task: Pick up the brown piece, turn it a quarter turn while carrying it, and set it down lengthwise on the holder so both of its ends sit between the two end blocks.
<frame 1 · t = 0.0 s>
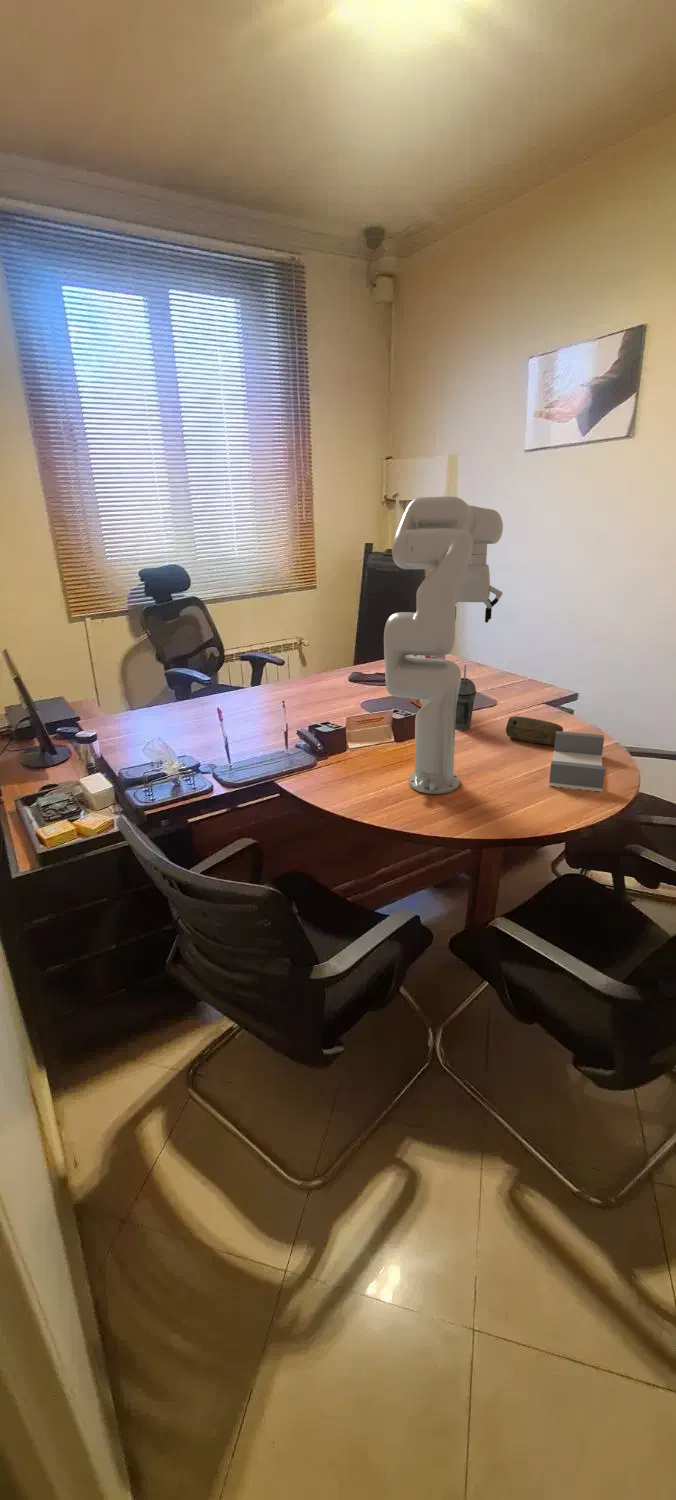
hand: (470, 621, 182), 31 cm above the table, tool pointing down, fingers open, 9 cm apart
brown piece: (533, 742, 178), on the table
cracker box: (426, 707, 209), on the table
beverage cup: (462, 728, 190), on the table
holder: (576, 770, 160), on the table
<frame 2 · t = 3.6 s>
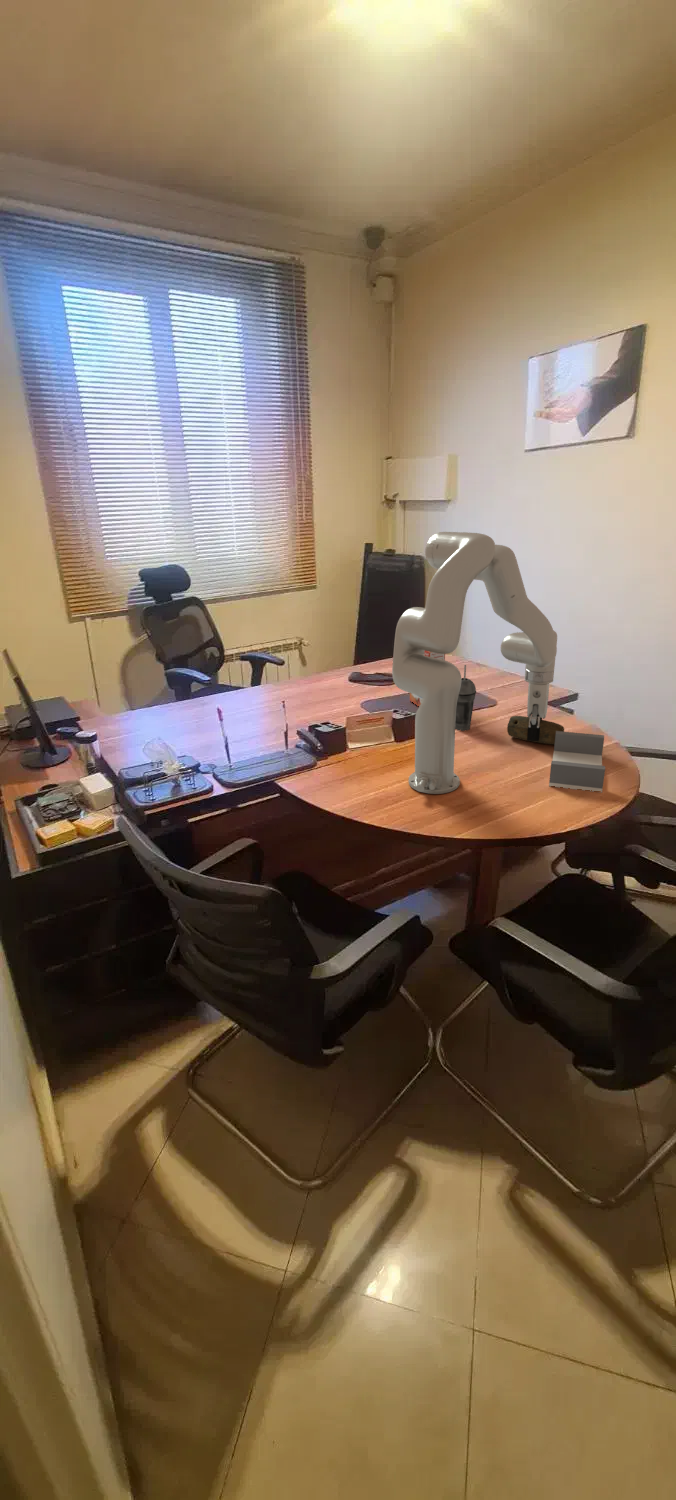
hand: (534, 734, 178), 2 cm above the table, tool pointing down, fingers closed on brown piece, 7 cm apart
brown piece: (534, 741, 178), on the table, touching gripper
everything else where it was.
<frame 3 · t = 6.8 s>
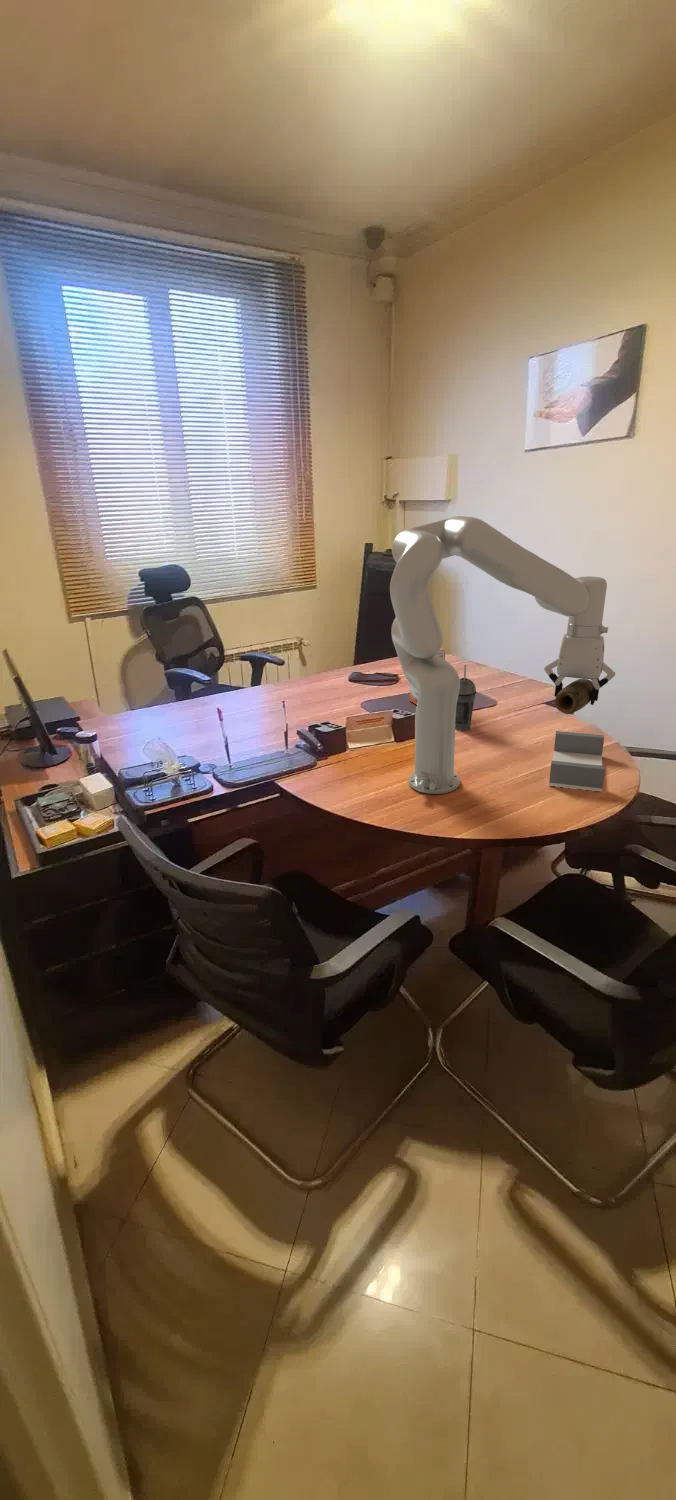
hand: (575, 700, 156), 18 cm above the table, tool pointing down, fingers closed on brown piece, 7 cm apart
brown piece: (575, 708, 157), point 16 cm above the table, touching gripper
everything else where it was.
when the fingers open (4 cm above the table, at t = 10.3 s): brown piece drops 1 cm, resting on holder.
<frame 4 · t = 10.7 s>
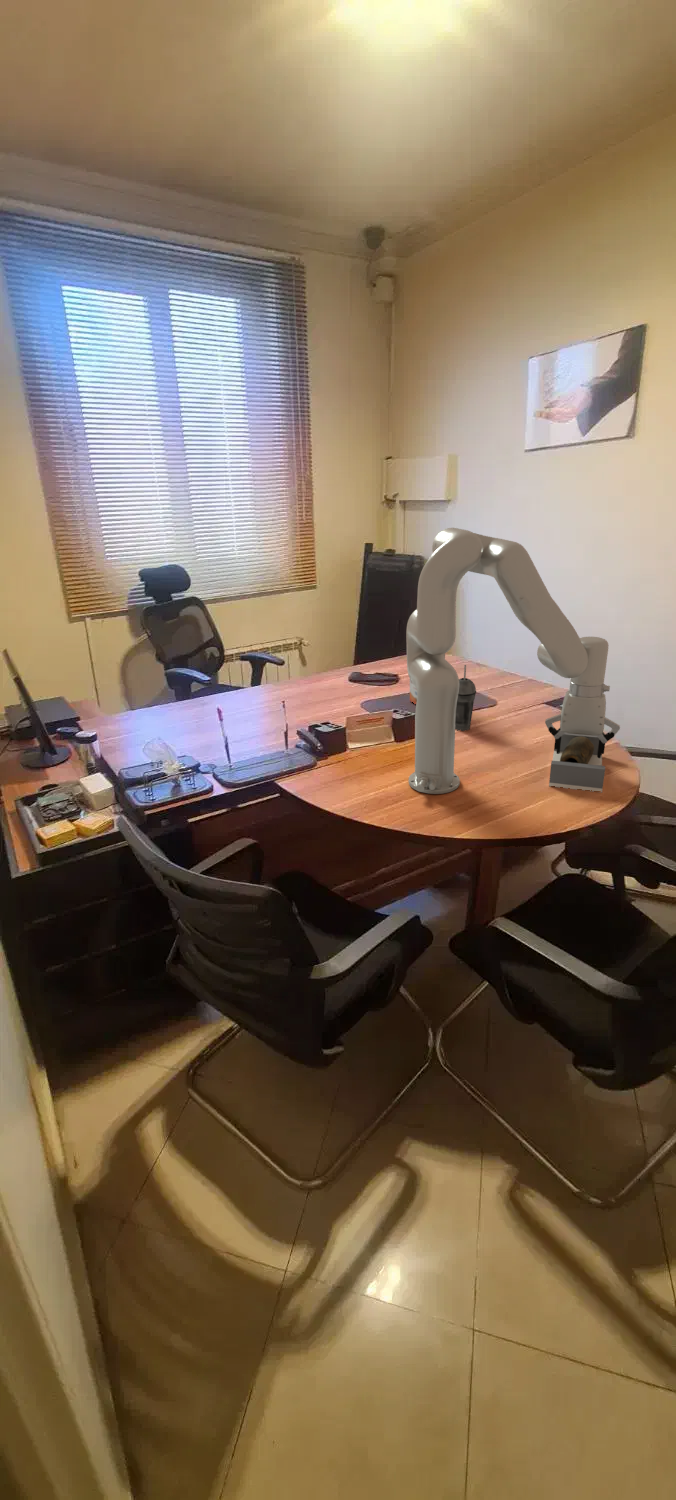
hand: (578, 753, 158), 5 cm above the table, tool pointing down, fingers open, 9 cm apart
brown piece: (575, 767, 160), point 1 cm above the table, touching holder
everything else where it was.
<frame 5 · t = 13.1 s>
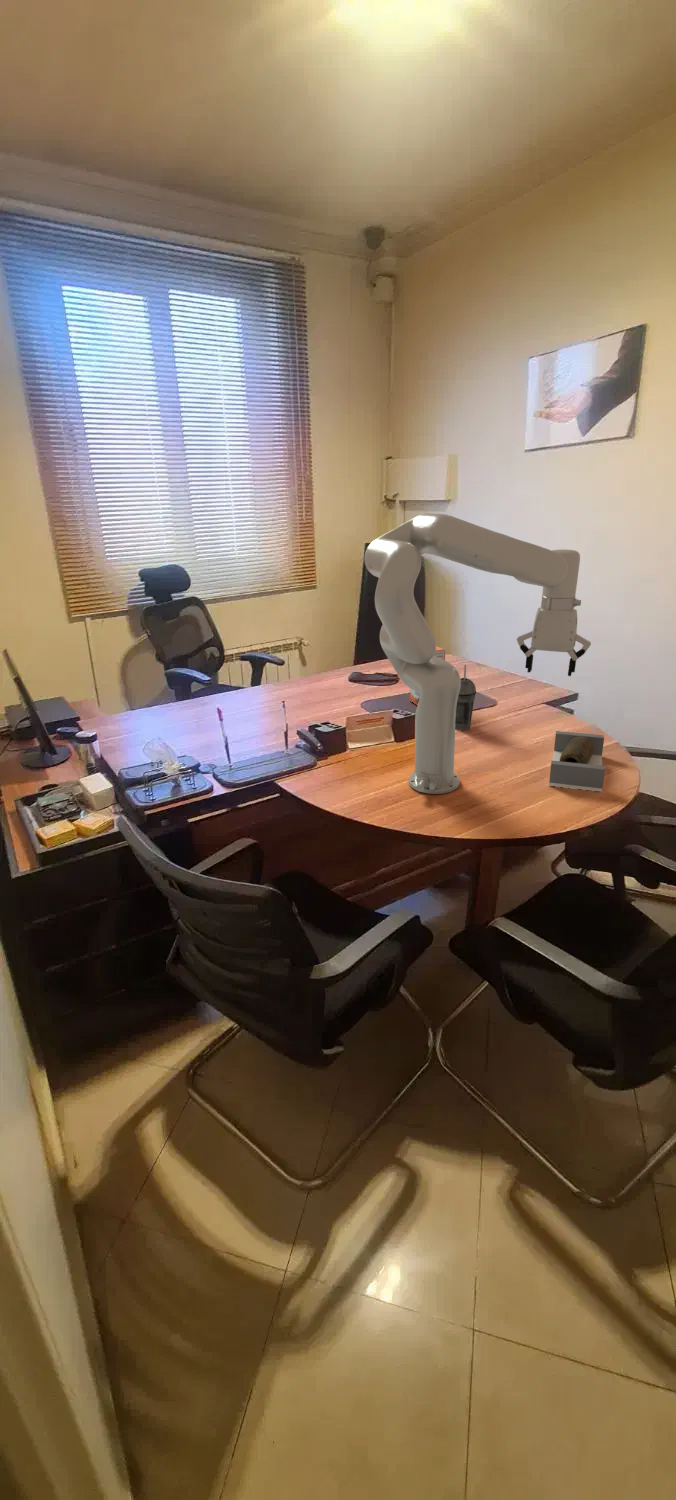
hand: (549, 673, 157), 24 cm above the table, tool pointing down, fingers open, 9 cm apart
nothing on the table moved.
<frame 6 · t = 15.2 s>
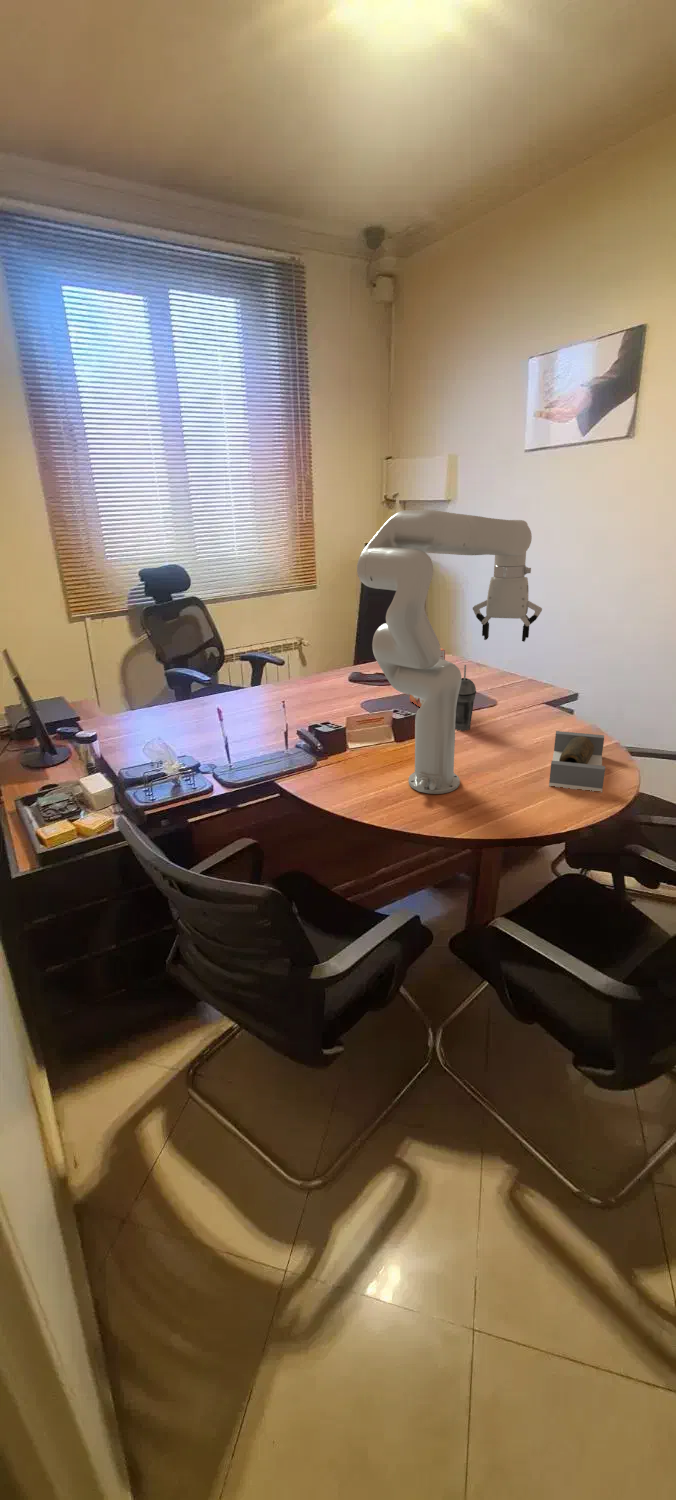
hand: (504, 639, 164), 30 cm above the table, tool pointing down, fingers open, 9 cm apart
nothing on the table moved.
at the end: brown piece 0.5 cm off-centre on the holder, point 0.8 cm above the holder's base; brown piece touching holder; brown piece tilted 0° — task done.
